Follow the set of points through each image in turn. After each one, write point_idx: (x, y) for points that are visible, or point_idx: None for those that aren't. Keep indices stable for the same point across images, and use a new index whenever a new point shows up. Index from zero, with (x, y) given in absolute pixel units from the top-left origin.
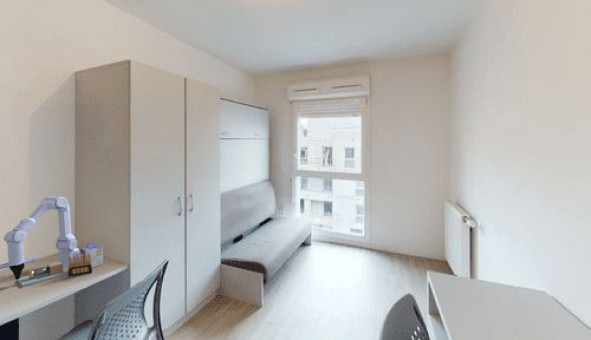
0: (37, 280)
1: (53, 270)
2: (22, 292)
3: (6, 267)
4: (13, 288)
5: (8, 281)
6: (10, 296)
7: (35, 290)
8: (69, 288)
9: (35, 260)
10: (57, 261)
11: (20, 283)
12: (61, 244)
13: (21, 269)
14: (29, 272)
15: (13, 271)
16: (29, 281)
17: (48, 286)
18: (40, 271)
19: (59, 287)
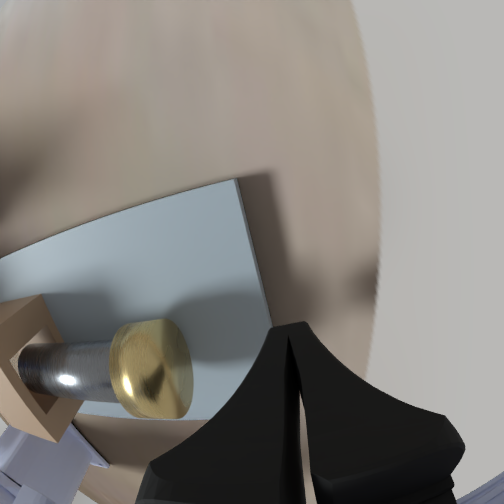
0: (106, 236)
1: (2, 314)
2: (228, 31)
3: (491, 486)
4: (319, 217)
5: None
6: (319, 8)
7: (130, 24)
8: (4, 5)
9: (20, 496)
10: (14, 425)
11: (262, 289)
12: None
13: (221, 429)
14: (152, 380)
15: (379, 400)
16: (175, 263)
17: (51, 70)
18: (71, 358)
19: (20, 29)
